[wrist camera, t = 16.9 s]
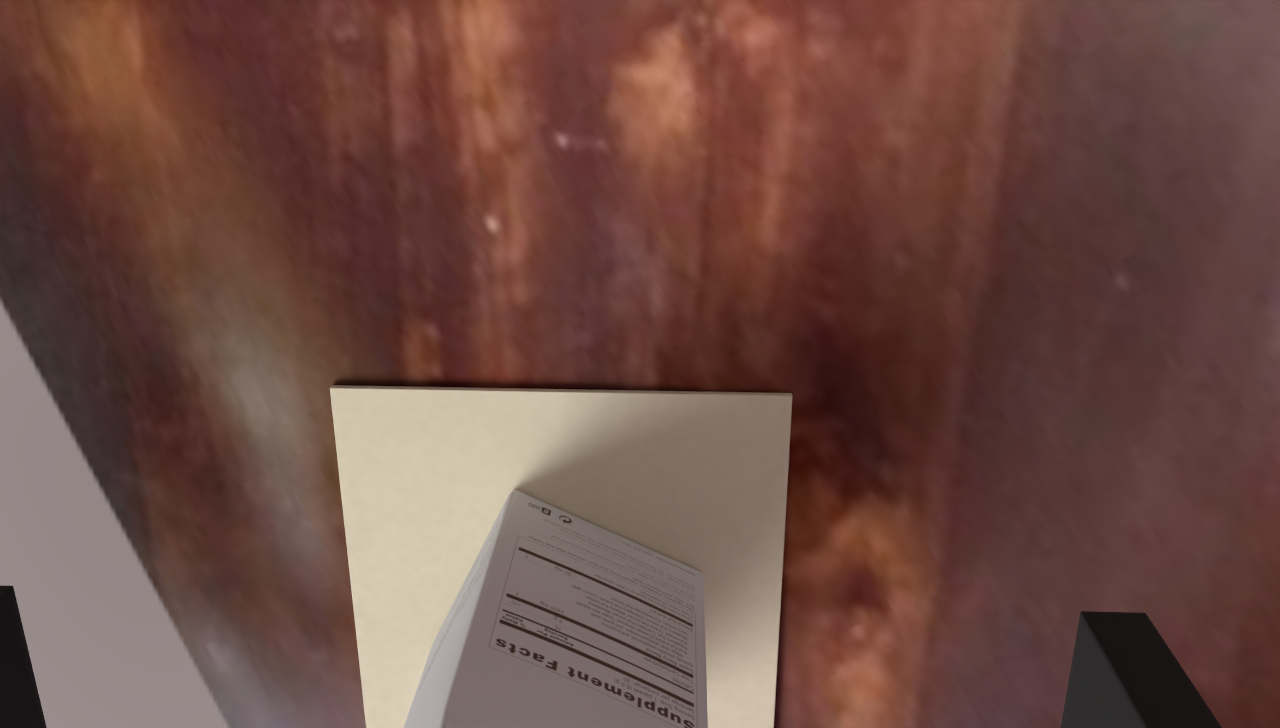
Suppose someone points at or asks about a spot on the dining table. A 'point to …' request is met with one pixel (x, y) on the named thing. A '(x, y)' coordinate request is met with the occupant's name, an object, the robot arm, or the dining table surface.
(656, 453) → the placemat
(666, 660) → the rectangular carton
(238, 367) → the dining table surface
